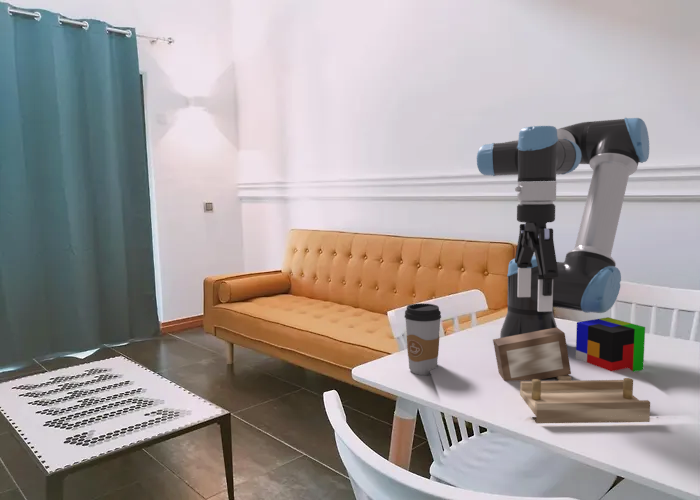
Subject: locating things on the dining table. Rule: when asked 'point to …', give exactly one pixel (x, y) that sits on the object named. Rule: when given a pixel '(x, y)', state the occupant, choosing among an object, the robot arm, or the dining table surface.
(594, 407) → the ledge
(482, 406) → the dining table surface
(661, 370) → the dining table surface
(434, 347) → the coffee cup
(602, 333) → the puzzle toy
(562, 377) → the block
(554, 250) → the robot arm
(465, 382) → the dining table surface
